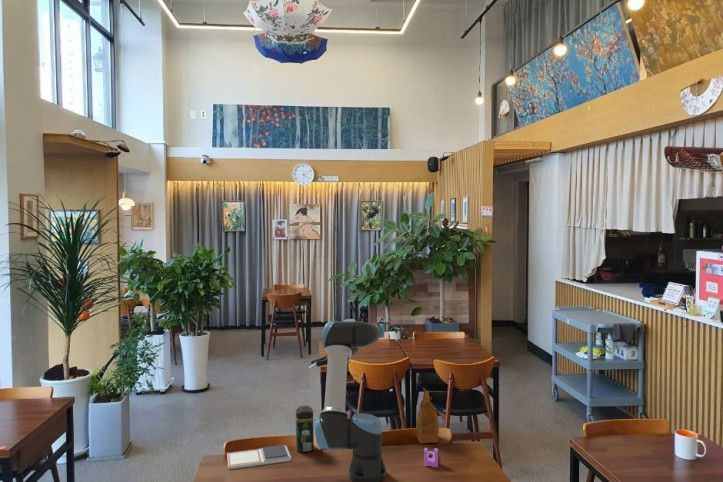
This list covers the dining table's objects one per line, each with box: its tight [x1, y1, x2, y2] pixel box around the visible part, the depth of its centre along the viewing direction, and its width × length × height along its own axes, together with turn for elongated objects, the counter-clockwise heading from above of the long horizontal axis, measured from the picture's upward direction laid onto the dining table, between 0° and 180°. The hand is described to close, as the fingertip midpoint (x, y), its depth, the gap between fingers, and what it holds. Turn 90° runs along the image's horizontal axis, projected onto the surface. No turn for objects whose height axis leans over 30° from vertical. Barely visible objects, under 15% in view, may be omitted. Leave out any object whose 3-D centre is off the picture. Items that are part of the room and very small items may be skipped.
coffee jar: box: [295, 405, 315, 453], centre depth 228 cm, size 10×8×19 cm
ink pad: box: [260, 444, 291, 461], centre depth 220 cm, size 13×11×1 cm
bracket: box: [423, 447, 439, 468], centre depth 215 cm, size 13×6×7 cm, turn 173°
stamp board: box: [226, 445, 292, 470], centre depth 218 cm, size 14×26×1 cm, turn 107°
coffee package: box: [416, 390, 440, 445], centre depth 237 cm, size 10×12×22 cm
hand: (321, 371), depth 238 cm, fingers open, 13 cm apart
